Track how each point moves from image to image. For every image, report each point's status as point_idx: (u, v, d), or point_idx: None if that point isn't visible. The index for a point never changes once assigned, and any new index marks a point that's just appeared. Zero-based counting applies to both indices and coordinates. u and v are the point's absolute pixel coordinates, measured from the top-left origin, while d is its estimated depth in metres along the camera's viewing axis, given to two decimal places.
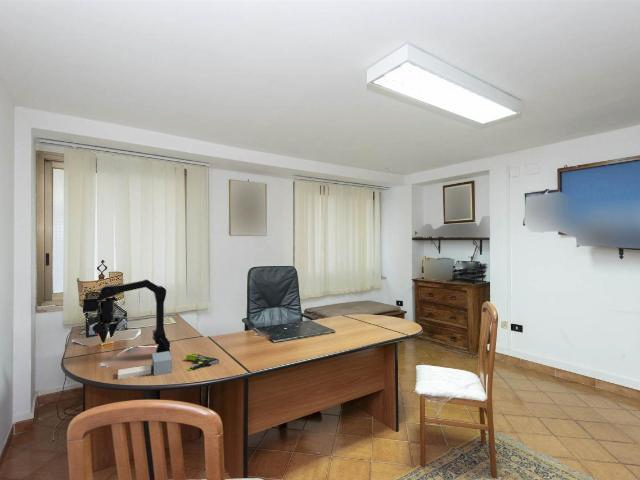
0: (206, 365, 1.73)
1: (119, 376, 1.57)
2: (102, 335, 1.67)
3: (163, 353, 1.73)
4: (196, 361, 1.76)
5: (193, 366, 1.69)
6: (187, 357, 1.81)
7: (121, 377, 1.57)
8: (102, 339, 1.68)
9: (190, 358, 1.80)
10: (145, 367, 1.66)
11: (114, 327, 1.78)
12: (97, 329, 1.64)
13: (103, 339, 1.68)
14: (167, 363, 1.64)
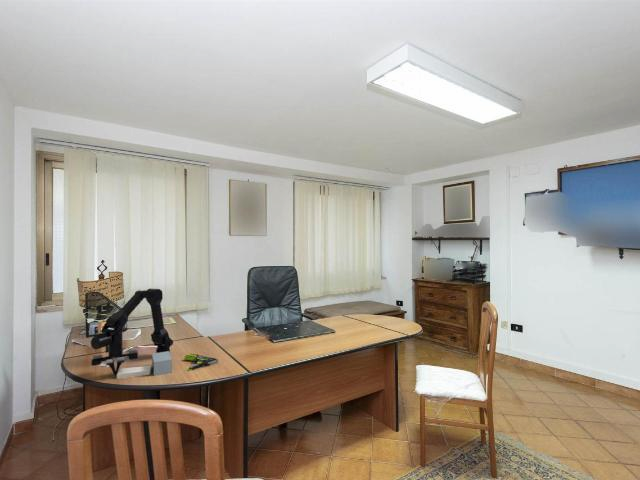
0: (205, 365, 1.73)
1: (118, 375, 1.57)
2: None
3: (163, 353, 1.73)
4: (195, 361, 1.76)
5: (192, 366, 1.69)
6: (186, 357, 1.81)
7: (120, 376, 1.58)
8: (113, 371, 1.59)
9: (189, 358, 1.80)
10: (145, 367, 1.66)
11: None
12: None
13: (113, 372, 1.58)
14: (167, 363, 1.64)
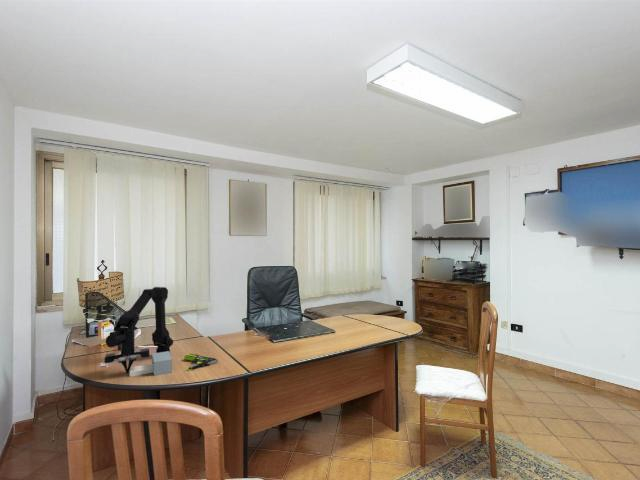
0: (205, 365, 1.73)
1: (131, 373, 1.60)
2: (124, 365, 1.61)
3: (163, 353, 1.73)
4: (195, 361, 1.76)
5: (192, 366, 1.69)
6: (185, 357, 1.81)
7: (133, 374, 1.60)
8: (125, 369, 1.61)
9: (188, 358, 1.80)
10: None
11: (128, 363, 1.60)
12: None
13: None
14: (167, 363, 1.64)
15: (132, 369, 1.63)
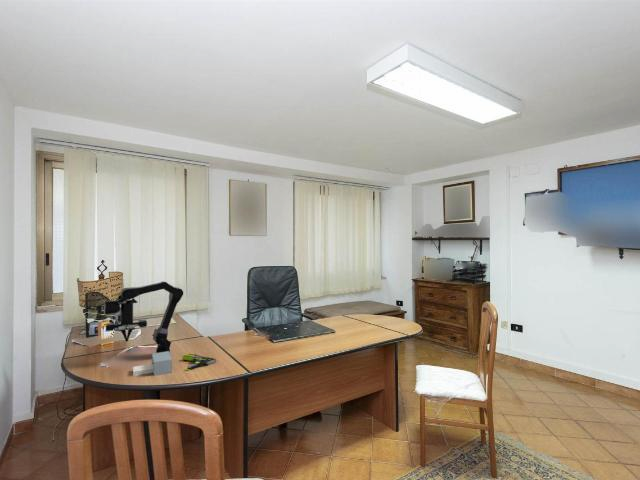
0: (203, 365, 1.73)
1: (134, 373, 1.61)
2: None
3: (163, 353, 1.73)
4: (193, 361, 1.77)
5: (190, 366, 1.70)
6: (184, 357, 1.81)
7: (136, 374, 1.61)
8: None
9: (187, 358, 1.80)
10: None
11: None
12: None
13: None
14: (167, 363, 1.64)
15: (136, 368, 1.64)
